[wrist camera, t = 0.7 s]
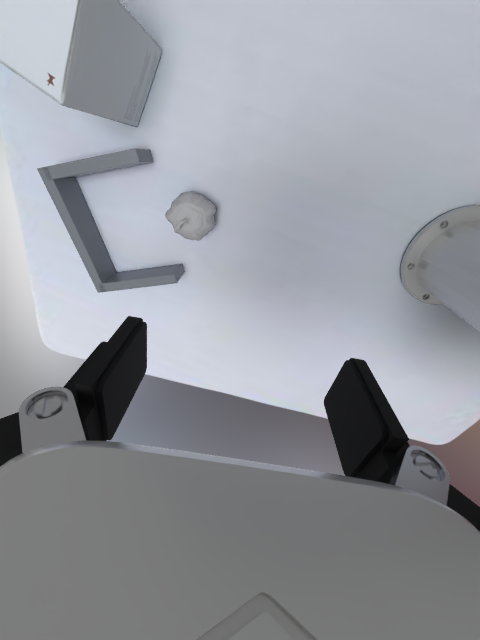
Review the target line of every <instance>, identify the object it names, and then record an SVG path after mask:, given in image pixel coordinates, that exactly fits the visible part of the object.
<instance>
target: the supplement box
mask: <svg viewBox="0 0 480 640" xmlns="http://www.w3.org/2000/svg"><path fill="white" fill-rule="evenodd" d="M161 53H162V49H161V48H160V46H159V45H158V44H157V43H156V42H155V41H154V40H153V38H152V37H151V36H150V35H149V34H148V33H147V32H146V31H145V29H144V28H143V27H142V26H141V25H140V24H139V23H138V22H137V21H136V19H135V18H134V17H133V16H132V15H131V14H130V13H129V12H128V11H127V10H126V8H125V7H124V6H123V5H122V4H121V3H120V2H119V1H118V0H0V63H1V64H3V65H4V66H5V67H7V68H8V69H9V70H11V71H12V72H14V73H15V74H17V75H19V76H20V77H22V78H23V79H25V80H26V81H28V82H29V83H31V84H32V85H33V86H35V87H36V88H38V89H39V90H41V91H42V92H43V93H45V94H46V95H48V96H49V97H51V98H52V99H53V100H55V101H56V102H58V103H59V104H60V105H63V106H66V107H70V108H73V109H76V110H80V111H83V112H87V113H90V114H94V115H97V116H101V117H104V118H107V119H111V120H114V121H118V122H121V123H124V124H128V125H131V126H135V127H137V126H138V123H139V120H140V117H141V114H142V111H143V108H144V105H145V102H146V99H147V96H148V93H149V90H150V87H151V84H152V81H153V78H154V75H155V72H156V69H157V66H158V63H159V60H160V56H161Z"/></svg>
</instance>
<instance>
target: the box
mask: <svg viewBox="0 0 480 640" xmlns="http://www.w3.org/2000/svg"><path fill="white" fill-rule="evenodd" d="M152 162H153V159H152V155H151V151H150V150H145V149H130V150H126V151H121V152H116V153H111V154H106V155H101V156H96V157H92V158H87V159H82V160H77V161H72V162H67V163H62V164H58V165H53V166H48V167H43V168H38V169H37V170H38V172H39V174H40V176H41V178H42V180H43V182H44V184H45V186H46V188H47V190H48V192H49V194H50V196H51V198H52V200H53V202H54V204H55V206H56V208H57V210H58V212H59V214H60V216H61V218H62V220H63V222H64V224H65V226H66V228H67V230H68V232H69V234H70V237H71V239H72V241H73V243H74V245H75V247H76V249H77V251H78V253H79V255H80V257H81V259H82V261H83V263H84V265H85V267H86V269H87V271H88V273H89V275H90V277H91V279H92V281H93V283H94V285H95V287H96V289H97V291H98V292H107V291H115V290H123V289H132V288H140V287H149V286H157V285H165V284H174V283H177V282H178V281H179V279H180V278H181V276H182V275H183V274H184V272H185V271H184V268H183V264H178V265H170V266H163V267H155V268H147V269H140V270H132V271H124V272H116V270H115V267H114V265H113V263H112V261H111V258H110V256H109V254H108V251H107V249H106V247H105V244H104V242H103V240H102V237H101V235H100V233H99V230H98V228H97V226H96V223H95V221H94V219H93V216H92V214H91V212H90V209H89V207H88V205H87V203H86V200H85V198H84V196H83V193H82V191H81V189H80V186H79V184H78V182H77V179H76V177H80V176H86V175H91V174H96V173H101V172H106V171H111V170H116V169H121V168H127V167H132V166H137V165H142V164H147V163H152Z"/></svg>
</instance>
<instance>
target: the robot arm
mask: <svg viewBox="0 0 480 640" xmlns="http://www.w3.org/2000/svg"><path fill="white" fill-rule="evenodd" d="M401 279H402V283H403V285H404V287H405V289H406V290H407V291H408V292H409V293H410V294H411V295H412V296H414V297H415V298H416V299H418V300H420V301H422V302H425V303H429V304H437V305H442V304H444V305H446V306H447V307H448V308H449V309H451V310H452V311H453V312H454V313H456V314H457V315H458V316H460V317H461V318H462V319H463V320H465V321H466V322H467V323H468V324H470V325H471V326H472V327H473V328H475V329H476V330H477V331H479V332H480V205H473V206H466V207H461V208H458V209H455V210H452V211H449V212H447V213H445V214H443V215H441V216H439V217H438V218H436V219H435V220H433V221H432V222H430V223H429V224H428V225H427V226H425V227H424V228H423V229H422V230H421V231H420V232H419V233H418V234H417V235H416V236H415V238H414V239H413V240H412V241H411V243H410V245H409V246H408V248H407V249H406V252H405V254H404V256H403V259H402V263H401ZM146 368H147V324H146V322H143V319H142V318H137V317H131V316H128V317H127V318H126V320H125V321H124V322H123V323H122V325H121V326H120V327H119V328H118V330H117V331H116V332H115V333H114V335H113V336H112V337H111V338H110V340H109V341H108V342H101V343H100V344H99V345H98V346H97V348H96V349H95V350H94V351H93V352H92V354H91V355H90V356H89V357H88V358H87V360H86V361H85V362H84V363H83V364H82V366H81V367H80V368H79V369H78V370H77V372H76V373H75V374H74V375H73V377H72V378H71V379H70V380H69V381H68V382H67V384H66V385H65V386H64V387H50V388H44V389H42V390H39V391H37V392H35V393H33V394H32V395H30V396H29V397H28V398H26V399H25V400H24V401H23V403H22V404H21V406H20V409H19V412H18V413H15V414H12V415H9V416H7V417H4V418H1V419H0V640H480V507H479V506H477V505H476V504H475V503H474V502H472V501H471V500H470V499H468V498H467V497H466V496H465V495H463V494H462V493H461V492H459V491H458V490H457V489H456V488H454V487H453V486H452V485H450V484H449V483H450V478H449V474H448V471H447V469H446V468H445V466H444V465H443V463H442V462H441V461H440V460H439V459H438V458H437V457H436V456H435V455H433V454H432V453H431V452H429V451H427V450H426V449H424V448H421V447H419V446H409V444H408V442H407V441H408V440H409V438H408V437H407V435H406V433H405V431H404V429H403V428H402V426H401V424H400V422H399V420H398V419H397V417H396V415H395V413H394V412H393V410H392V408H391V406H390V404H389V403H388V401H387V399H386V397H385V395H384V394H383V392H382V390H381V388H380V387H379V385H378V383H377V381H376V379H375V378H374V376H373V374H372V372H371V370H370V369H369V367H368V365H367V363H366V362H365V361H364V360H360V359H355V358H351V359H349V360H347V361H345V363H344V365H343V366H342V368H341V370H340V372H339V374H338V375H337V377H336V379H335V381H334V382H333V384H332V386H331V388H330V389H329V391H328V393H327V395H326V397H325V399H324V406H325V409H326V413H327V416H328V420H329V423H330V427H331V430H332V434H333V437H334V440H335V444H336V447H337V450H338V454H339V458H340V461H341V464H342V468H343V471H344V474H345V476H342V475H335V474H329V473H323V472H317V471H311V470H304V469H298V468H292V467H285V466H279V465H273V464H266V463H260V462H252V461H247V460H240V459H234V458H227V457H220V456H214V455H207V454H200V453H194V452H186V451H180V450H173V449H167V448H160V447H152V446H145V445H144V446H143V445H137V444H129V443H121V442H110V441H106V440H111V439H112V437H113V435H114V434H115V432H116V430H117V428H118V426H119V424H120V422H121V420H122V418H123V416H124V414H125V412H126V410H127V408H128V406H129V404H130V402H131V400H132V398H133V396H134V394H135V392H136V390H137V388H138V386H139V384H140V382H141V381H142V379H143V377H144V375H145V372H146Z"/></svg>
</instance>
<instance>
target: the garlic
mask: <svg viewBox="0 0 480 640" xmlns="http://www.w3.org/2000/svg"><path fill="white" fill-rule="evenodd" d="M215 213H216V208H215V206H214V204H213V203H212V202H210V201H209V200H207V199H206V198H205V196H203V195H200V194H196V193H195V192H193V191H191V192H185V193H182V194H181V195H179V197H178V198H176V199H175V200H174V201H173V202H172V205H171V208H170V209H169V210H168V211H167V212H166V214H165V216H166V218H167V220H168V221H169V222H170V223H171V224H172V225H173V227H174V231H175V232H176V233H178V234H180V235H181V236H183V237H184V238H186V239H190V240H201V239H202V238H203V236H205V235H207V233H208V232H209V231H211V230H212V229H213V227H214V226H215V221H214V214H215Z"/></svg>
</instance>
